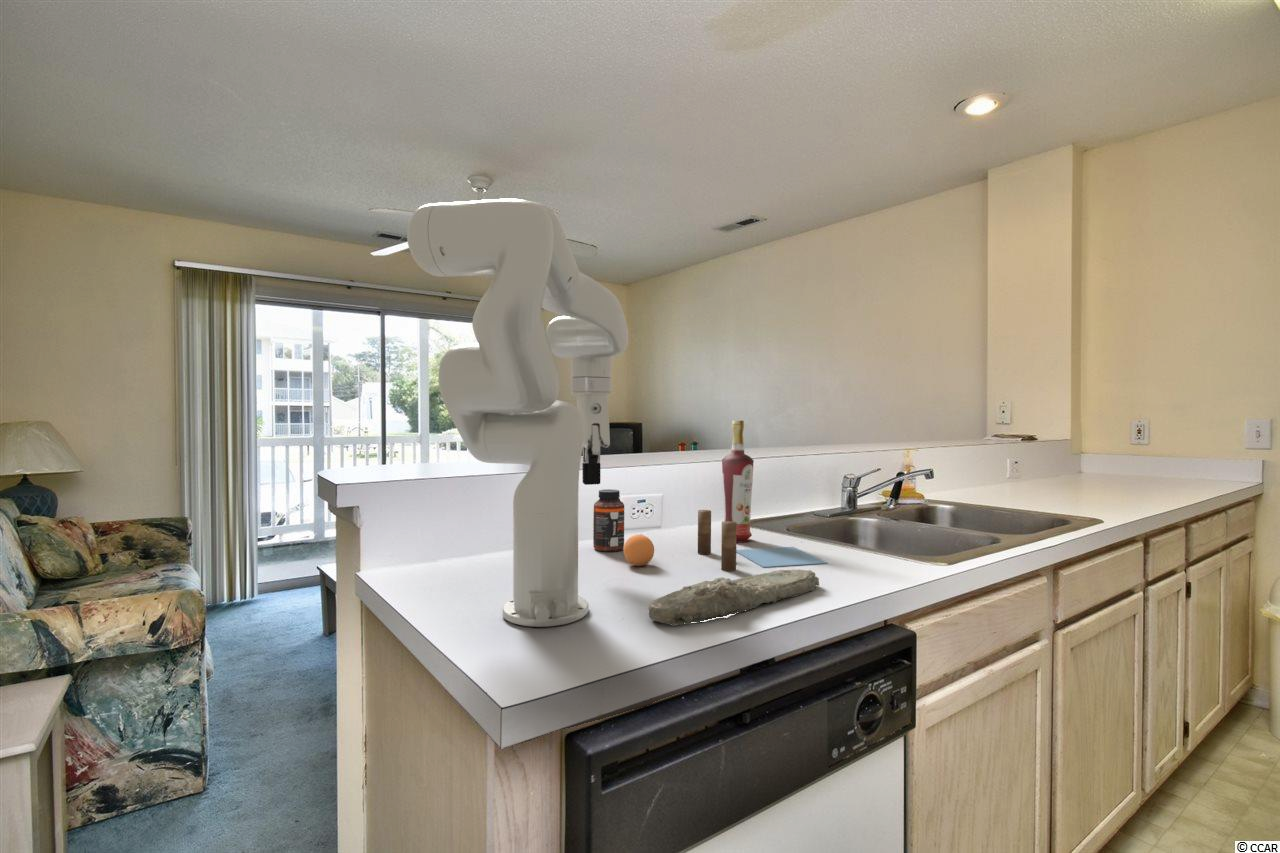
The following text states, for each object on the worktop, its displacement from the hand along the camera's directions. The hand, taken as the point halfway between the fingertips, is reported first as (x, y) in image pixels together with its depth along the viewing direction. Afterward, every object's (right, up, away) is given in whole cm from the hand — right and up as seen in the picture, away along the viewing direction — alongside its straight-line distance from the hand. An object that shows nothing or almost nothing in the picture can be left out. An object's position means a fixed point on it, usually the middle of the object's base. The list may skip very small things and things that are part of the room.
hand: (591, 483), depth 112 cm
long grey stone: (+25, -18, -19) cm, 36 cm away
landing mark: (+38, -16, +10) cm, 43 cm away
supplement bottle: (+3, -16, +16) cm, 23 cm away
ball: (+9, -13, +2) cm, 16 cm away
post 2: (+26, -16, 0) cm, 31 cm away
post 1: (+23, -16, +13) cm, 31 cm away
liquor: (+32, -16, +26) cm, 44 cm away
